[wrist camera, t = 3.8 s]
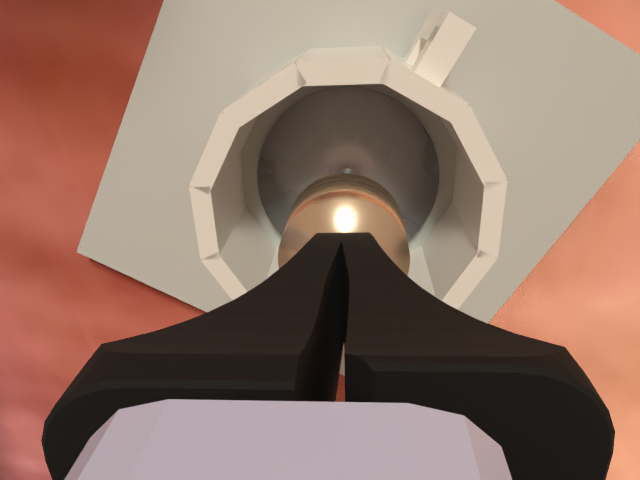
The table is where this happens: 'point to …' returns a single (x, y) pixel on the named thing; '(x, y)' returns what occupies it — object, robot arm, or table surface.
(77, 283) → the table surface
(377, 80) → the white square-based fixture
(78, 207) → the table surface
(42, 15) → the table surface
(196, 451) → the robot arm
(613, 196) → the table surface
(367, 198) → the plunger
